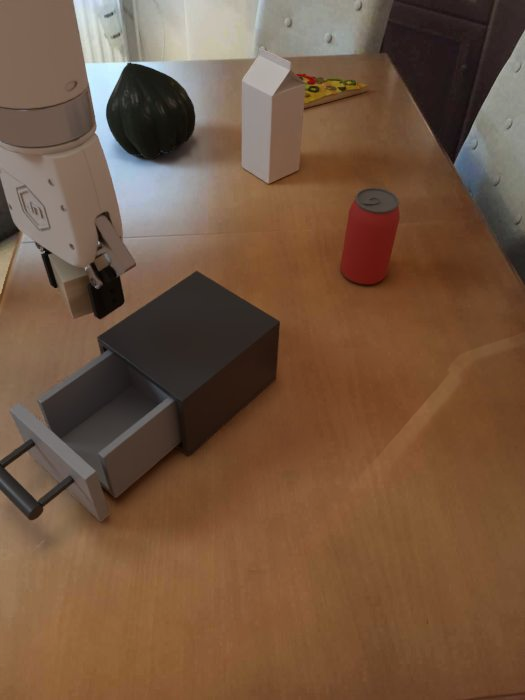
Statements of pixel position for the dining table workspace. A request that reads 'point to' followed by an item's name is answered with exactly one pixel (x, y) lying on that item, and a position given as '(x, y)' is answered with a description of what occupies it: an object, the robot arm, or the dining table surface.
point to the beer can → (370, 235)
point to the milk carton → (271, 117)
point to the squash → (149, 112)
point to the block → (74, 284)
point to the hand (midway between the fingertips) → (87, 293)
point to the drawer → (93, 435)
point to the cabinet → (199, 352)
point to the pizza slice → (328, 89)
